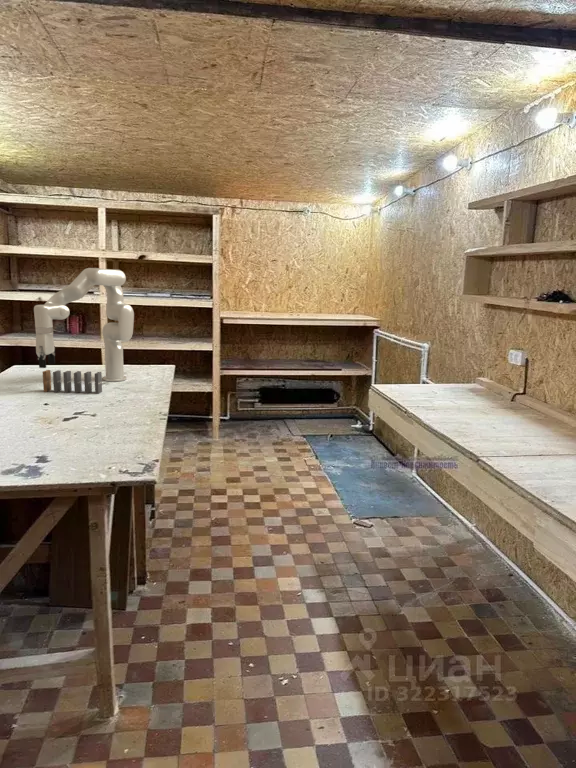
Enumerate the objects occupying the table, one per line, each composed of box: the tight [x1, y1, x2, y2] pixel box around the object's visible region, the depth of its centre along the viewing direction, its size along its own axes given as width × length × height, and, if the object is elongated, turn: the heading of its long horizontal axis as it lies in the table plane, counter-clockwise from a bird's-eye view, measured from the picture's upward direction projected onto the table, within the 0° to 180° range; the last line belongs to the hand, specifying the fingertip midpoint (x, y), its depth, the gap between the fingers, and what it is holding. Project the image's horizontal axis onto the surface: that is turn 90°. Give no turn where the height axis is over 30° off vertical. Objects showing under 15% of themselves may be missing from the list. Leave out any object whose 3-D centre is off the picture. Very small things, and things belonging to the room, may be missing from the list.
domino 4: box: [73, 370, 83, 394], centre depth 250 cm, size 2×5×10 cm, turn 1°
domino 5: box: [83, 371, 93, 395], centre depth 250 cm, size 2×5×10 cm, turn 1°
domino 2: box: [52, 369, 62, 393], centre depth 250 cm, size 2×5×10 cm, turn 1°
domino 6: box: [94, 371, 103, 395], centre depth 250 cm, size 2×5×10 cm, turn 1°
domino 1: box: [42, 369, 52, 393], centre depth 250 cm, size 2×5×10 cm, turn 1°
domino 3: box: [62, 370, 73, 394], centre depth 250 cm, size 2×5×10 cm, turn 1°
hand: (47, 365), depth 249 cm, fingers open, 9 cm apart
